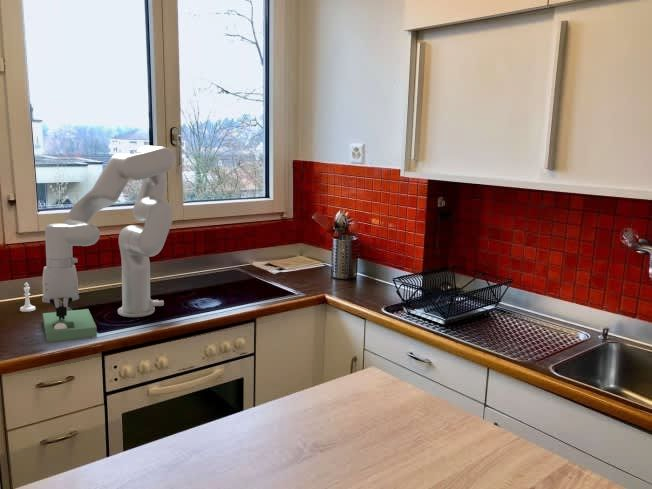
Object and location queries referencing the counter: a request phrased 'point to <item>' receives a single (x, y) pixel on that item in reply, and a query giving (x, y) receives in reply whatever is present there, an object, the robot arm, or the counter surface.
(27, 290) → the chess piece
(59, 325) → the ball
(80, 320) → the green
